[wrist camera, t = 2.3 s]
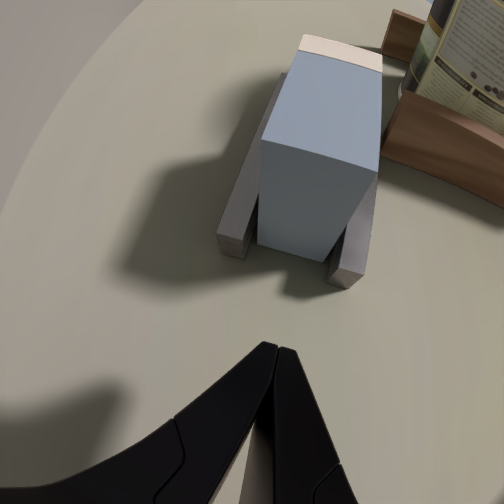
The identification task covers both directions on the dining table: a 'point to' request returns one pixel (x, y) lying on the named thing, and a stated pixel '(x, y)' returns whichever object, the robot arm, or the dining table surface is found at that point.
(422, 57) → the coffee can
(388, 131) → the walnut bay
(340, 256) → the rails
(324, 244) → the blue block white cap
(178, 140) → the dining table surface
